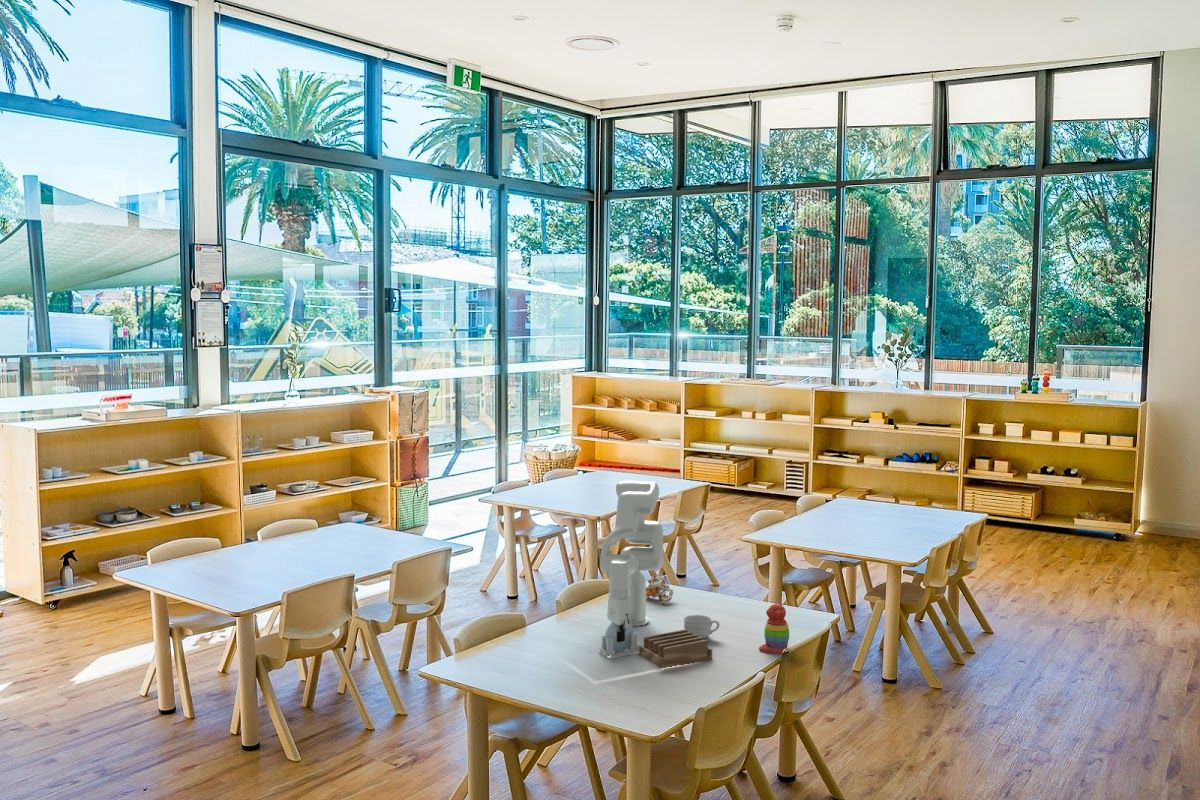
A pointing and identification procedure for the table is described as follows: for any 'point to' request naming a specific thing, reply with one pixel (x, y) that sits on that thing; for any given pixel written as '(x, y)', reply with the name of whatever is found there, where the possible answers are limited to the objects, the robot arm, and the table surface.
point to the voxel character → (658, 588)
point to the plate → (612, 632)
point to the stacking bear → (775, 630)
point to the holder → (608, 650)
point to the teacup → (700, 625)
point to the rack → (675, 648)
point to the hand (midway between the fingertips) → (619, 640)
